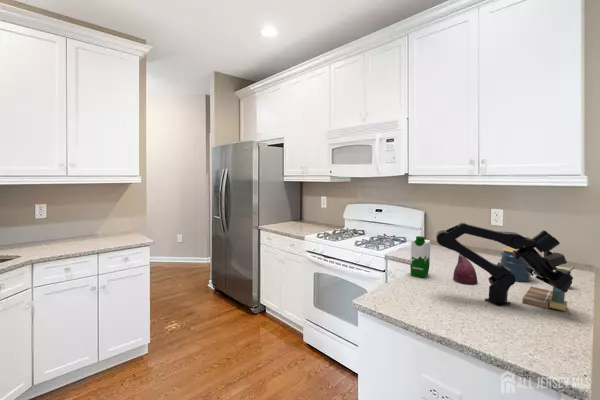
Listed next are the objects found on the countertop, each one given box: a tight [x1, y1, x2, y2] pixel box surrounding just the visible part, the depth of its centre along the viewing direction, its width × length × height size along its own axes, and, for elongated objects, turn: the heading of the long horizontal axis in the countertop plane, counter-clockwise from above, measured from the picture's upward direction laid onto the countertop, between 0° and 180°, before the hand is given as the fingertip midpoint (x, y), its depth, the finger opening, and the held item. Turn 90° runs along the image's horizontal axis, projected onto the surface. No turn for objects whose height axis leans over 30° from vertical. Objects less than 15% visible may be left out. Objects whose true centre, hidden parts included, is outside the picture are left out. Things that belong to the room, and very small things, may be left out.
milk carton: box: [409, 235, 431, 279], centre depth 158 cm, size 9×9×20 cm
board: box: [522, 286, 553, 310], centre depth 129 cm, size 20×8×2 cm, turn 136°
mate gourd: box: [554, 267, 575, 289], centre depth 146 cm, size 7×8×10 cm
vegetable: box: [452, 253, 478, 286], centre depth 151 cm, size 10×10×15 cm
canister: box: [499, 246, 532, 283], centre depth 157 cm, size 13×13×18 cm
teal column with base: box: [548, 286, 568, 312], centre depth 120 cm, size 7×5×11 cm, turn 135°
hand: (562, 289), depth 120 cm, fingers closed on teal column with base, 4 cm apart
